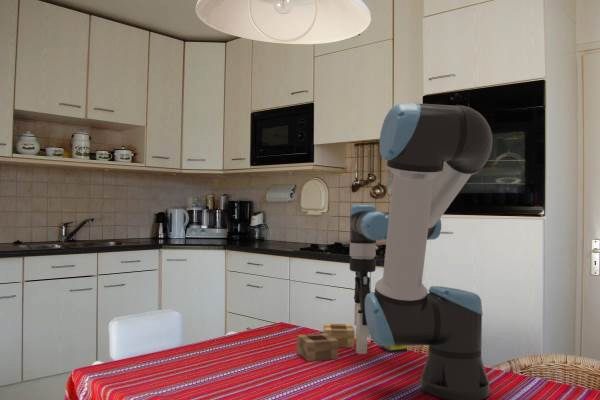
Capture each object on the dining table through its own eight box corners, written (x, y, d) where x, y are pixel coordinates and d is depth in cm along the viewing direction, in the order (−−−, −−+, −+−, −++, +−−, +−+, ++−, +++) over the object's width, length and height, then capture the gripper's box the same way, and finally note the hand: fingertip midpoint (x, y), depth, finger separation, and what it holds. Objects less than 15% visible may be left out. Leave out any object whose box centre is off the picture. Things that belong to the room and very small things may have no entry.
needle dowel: (367, 354, 145) (368, 305, 145) (356, 354, 145) (357, 305, 145) (366, 351, 148) (366, 303, 148) (355, 350, 148) (356, 303, 148)
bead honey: (354, 347, 152) (354, 330, 152) (324, 346, 152) (324, 330, 152) (351, 339, 161) (351, 324, 161) (323, 339, 161) (323, 323, 161)
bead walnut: (338, 358, 140) (338, 340, 140) (307, 361, 137) (308, 342, 137) (325, 350, 148) (325, 333, 148) (296, 352, 145) (297, 335, 145)
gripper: (382, 262, 135) (381, 342, 134) (369, 253, 160) (368, 321, 159) (354, 261, 135) (352, 341, 134) (346, 253, 160) (345, 320, 159)
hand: (361, 330), depth 147 cm, fingers open, 13 cm apart
